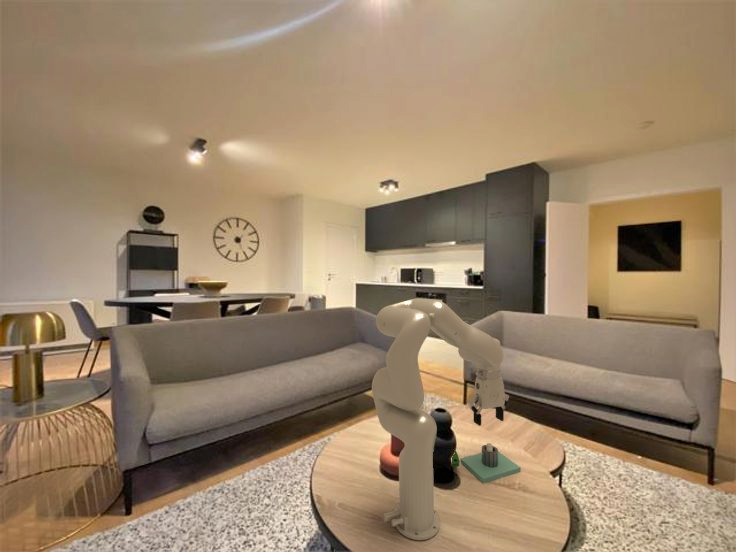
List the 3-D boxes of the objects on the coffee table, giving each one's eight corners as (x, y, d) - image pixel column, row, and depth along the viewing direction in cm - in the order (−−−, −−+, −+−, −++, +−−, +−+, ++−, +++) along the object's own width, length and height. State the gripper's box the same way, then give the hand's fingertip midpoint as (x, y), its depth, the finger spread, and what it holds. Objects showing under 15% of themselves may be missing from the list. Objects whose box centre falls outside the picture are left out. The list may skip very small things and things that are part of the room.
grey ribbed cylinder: (489, 469, 109) (488, 454, 109) (478, 460, 114) (478, 446, 114) (501, 465, 111) (501, 451, 110) (490, 457, 116) (490, 443, 115)
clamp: (432, 485, 110) (423, 466, 108) (429, 470, 116) (420, 452, 113) (465, 473, 109) (456, 453, 107) (460, 459, 115) (451, 440, 112)
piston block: (483, 483, 104) (482, 457, 104) (460, 462, 115) (460, 439, 115) (520, 471, 109) (520, 447, 109) (495, 452, 121) (495, 430, 120)
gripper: (475, 379, 105) (475, 430, 105) (516, 373, 111) (516, 422, 111) (461, 372, 112) (461, 421, 112) (500, 367, 118) (500, 413, 118)
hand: (488, 421), depth 112 cm, fingers open, 9 cm apart
